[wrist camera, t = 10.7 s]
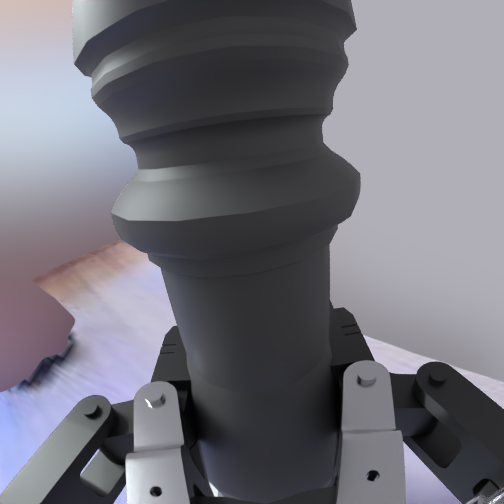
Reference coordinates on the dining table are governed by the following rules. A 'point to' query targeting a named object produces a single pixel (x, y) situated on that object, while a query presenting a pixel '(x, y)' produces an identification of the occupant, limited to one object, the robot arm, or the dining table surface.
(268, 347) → the candle holder
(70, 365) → the dining table surface
